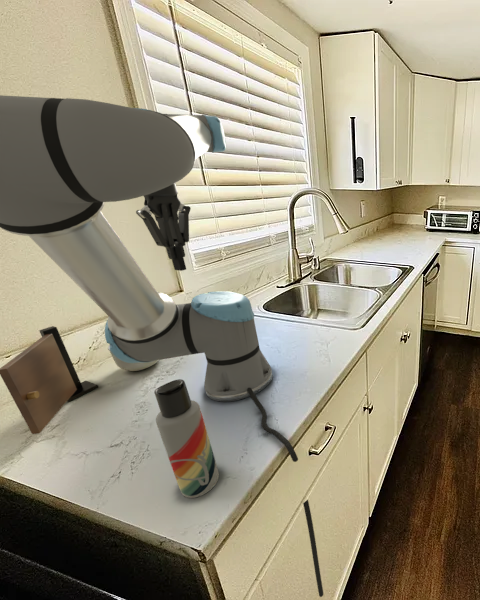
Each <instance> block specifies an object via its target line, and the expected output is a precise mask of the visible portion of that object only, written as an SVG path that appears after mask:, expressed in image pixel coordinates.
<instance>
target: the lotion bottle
mask: <svg viewBox="0 0 480 600" xmlns="http://www.w3.org/2000/svg"><path fill="white" fill-rule="evenodd" d="M154 396H155V399H156V403H157V405H158V408H159V413H158V414H157V415H156V417H155V423H156V426H157V431H158V432H159V435H160V438H161V441H162V444H163V446H164V449H165V452H166V455H167V458H168V460H169V461H168V462H169V463H170V466H171V469H172V471H173V475H174V477H175V480H176V483H177V486H178V488H179V490H180V493H181V495H182V496H183V497H185V498H188V499H192V498H193V499H194V498H198V497H201V496H203V495H205V494H207V493H208V492H209V491H211V490H212V489H213V488H214V487H215V486H216V484H217V483H218V481H219V478H220V476H219V475H220V474H219V469H218V465H217V462H216V458H215V454H214V452H213V448H212V445H211V440H210V438H209V434H208V430H207V426H206V424H205V420H204V417H203V413H202V410H201V406H200V404H199V403H198V402H197V401H195V400H191V397H190V393H189V391H188V388H187V385H186V382H185V380H184V379H174V380H172V381H169V382H167V383H164V384H162V385H160V386H159V387H157V388H156V389H155V390H154Z"/></svg>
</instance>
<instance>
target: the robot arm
mask: <svg viewBox="0 0 480 600" xmlns="http://www.w3.org/2000/svg"><path fill="white" fill-rule="evenodd" d="M226 150H227V142H226V136H225V130H224V127H223V123H222V120H221V119H220V118H219V117H218V116H216V115H206V114H182V113H181V114H178V113H162V112H159V111H155V110H151V109H148V108H140V107H131V106H125V105H120V104H115V103H110V102H104V101H97V100H92V99H85V98H68V97H66V98H59V97H42V96H41V97H39V96H38V97H37V96H21V95H20V96H19V95H1V94H0V229H2V230H3V231H5V232H8V233H10V234H13V235H19V236H27V237H29V238H30V239H31V240H32V241H33V242H34V243H35V244H36V245H37V246H38V247H39V248H40V249H41V250H42V251H43V252H44V253H45V254H46V255H47V256H48V257H49V258H50V259H51V260H52V261H53V262H54V263H55V264H56V265H57V266H58V267H59V268H60V269H61V270H62V271H63V272H64V273H65V275H67V276H68V277H69V279H71V280H72V281H73V282H74V283H75V284H76V285H77V286H78V287H79V288H80V290H82V291H83V292H84V293H85V294H86V295H87V296H88V297H89V299H91V301H93V303H95V305H97V306H98V307H99V308H100V309H101V310H102V311H103V312H104V313H105V314H106V315H107V316H108V317H107V319H106V322H105V325H104V338H105V341H106V344H108V345H110V348H109V349H110V350H111V352H112V353H113V354H114V355H115V356H116V357H117V358H118V359H120V360H121V361H124V362H127V363H145V362H146V363H147V362H151V361H156V360H158V361H162V360H166V359H172V358H173V359H174V358H178V357H179V358H180V357H185V356H191V355H198V354H204V355H205V359H206V369H205V378H204V382H203V383H204V390H205V395H206V396H207V397H208V398H209V399H210V400H213V401H217V402H235V401H239V400H244V399H247V398H251V400H252V401H253V403H254V404H255V406H256V408H257V409H258V411H259V412H260V414H261V422H260V424H261V428H262V430H263V431H264V432H266V433H268V434H270V435H271V436H274V437H275V438H276V439H277V440H278V441H279V442H281V444H283V446H284V447H285V448H286V450H287V452H288V453H289V454H288V455H289V456H290V458H291V461H292V462H294V463H296V462H298V460H299V458H298V454H297V453H296V450H295V449H294V447H293V445H292V444H291V442H290V441H289V440H288V439H287V438H286V437H285V436H284V435H283V434H282V433H280V432H279V431H277V430H276V429H274V428H271V427H269V426H268V424H267V420H268V419H267V418H268V415H267V411H266V409H265V407H264V406H263V404H262V403H261V402H260V400H259V398H258V397H257V396H256V395H257V394H258V393H259V392H261V391H262V390H265V388H266V387H268V385H269V384H270V383H271V381H272V379H273V370H272V367H271V365H270V363H269V361H268V360H267V358H266V356H265V355H264V354H263V352H262V350H261V348H260V343H259V338H258V333H257V328H256V323H255V312H254V311H253V308H252V304H251V300H250V299H249V298H248V297H247V296H246V295H244V294H242V293H239V292H235V291H227V290H219V291H218V290H217V291H208V292H207V293H205V292H203V293H200V294H197V295H195V296H194V297H192V299H191V302H188V303H178V304H176V302H175V301H174V299H173V298H172V297H171V296H170V295H168V294H165V293H163V292H159V291H157V289H156V288H155V286H154V285H153V284H152V283H151V281H150V279H149V278H148V277H147V275H146V274H145V272H144V271H143V269H142V268H141V267H140V265H139V263H137V261H136V259H135V258H134V256H133V255H132V253H131V252H130V251H129V249H128V248H127V246H126V245H125V243H124V242H123V241H122V239H121V238H120V236H119V235H118V233H117V232H116V231H115V229H114V228H113V226H112V225H111V224H110V222H109V220H107V218H106V217H105V214H103V212H102V210H103V208H104V206H105V204H106V203H115V202H122V201H128V200H133V199H138V198H142V197H143V198H144V202H143V207H142V208H141V209H137V210H136V211H135V214H136V215H137V216H138V217H139V218H141V219H142V221H143V223H144V225H145V227H146V228H147V230H148V232H149V234H150V235H151V237H152V238H153V241H154V243H155V245H156V246H157V247H163V248H165V250H166V253H167V257H168V259H169V260H171V261H172V266H173V269H174V271H179V272H184V271H186V270H187V266H186V262H185V257H186V253H185V252H186V251H185V249H184V247H185V246H186V243H188V242H190V223H189V222H190V218H189V215H190V212H191V206H189V205H185V204H183V203H181V200H180V199H179V197H178V194H179V192H178V188H177V184H176V183H178V182H180V181H182V180H183V179H185V177H187V176H188V175H189V174H190V173H191V171H192V170H193V168H194V166H195V162H196V159H198V158H199V157H200V156H202V155H203V154H204V153H212V154H214V153H222V152H225V151H226ZM152 214H153V215H154V217H153V216H152ZM302 504H303V505H302V506H303V509H304V514H305V519H306V524H307V530H308V536H309V543H310V549H311V554H312V561H313V567H314V573H315V579H316V587H317V591H318V597H320V598H322V597H323V596H324V588H323V582H322V576H321V569H320V563H319V562H320V561H319V555H318V548H317V542H316V541H317V540H316V535H315V529H314V523H313V519H312V513H311V508H310V507H311V506H310V502H309V499H306V500H305V501H304V502H303V503H302Z"/></svg>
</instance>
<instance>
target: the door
mask: <svg viewBox="0 0 480 600" xmlns="http://www.w3.org/2000/svg"><path fill="white" fill-rule="evenodd" d="M0 377H1V379H2V380H3V383H4V385H5V387H6V388H7V390H8V392H9V394H10V396H11V398H12V399H13V402H14V403H15V405H16V407H17V408H18V409H17V410H18V411H19V413H20V414H21V417H22V418H23V420H24V422H25V423H26V426H27V427H28V429H29V431H30V433H31V435H37V434H40V433H42V431H43V430H44V429H45V428H46V427H47V425H48V424H49V423H50V422H51V421H52V420H53V418H55V416H56V415H57V414H58V412H59V411H60V410H61V409H62V408H63V407H64V406H65V404H66V403H68V402H67V401H68V399H69V398H70V397H71V396H72V395H73V394H74V392H75V391H76V390H77V388H76V386H75V384H74V382H73V379H72V377H71V375H70V373H69V370H68V368H67V366H66V364H65V361H64V359H63V357H62V355H61V353H60V350H59V348H58V346H57V344H56V341H55V339H54V337H53V335H52V334H46V335H44V336H43V337H42V336H41V337H40V338H39V339H37V340H36V341H35V342H33V343H32V344H31V345H29V346H28V347H27V348H25V349H24V350H22V351H21V352H20V353H19V354H17V355H15V357H13V358H11V360H9V361H8V362H6V363H5V364H3V365H2V366H1V367H0Z"/></svg>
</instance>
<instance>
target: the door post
mask: <svg viewBox="0 0 480 600" xmlns="http://www.w3.org/2000/svg"><path fill="white" fill-rule="evenodd" d="M38 331H39V333H40V336H41V337H43V336H44V335H46V334H52V335H53V337H54V339H55V341H56V344H57V346H58V348H59V350H60V353H61V355H62V357H63V359H64V361H65V364H66V366H67V368H68V370H69V373H70V375H71V377H72V379H73V382H74V384H75V386H76V388H77V390H76V391H75V392H74V394H73V395H72V396H71V397H70V398H69V399H68V401H67V402H66V403H70V402H71V401H74V400H75V399H78V398H79V397H81V396H84V395H86V394H87V393H90V392H93V391H94V390H97V389H98V388H99V385H98V384H97V383H93V382H91V381H88V380H83V381H82V382H81V380H80V378H79V376H78V375H79V374H78V373H77V371H76V369H75V366H74V363H73V362H72V359H71V356H70V355H69V353H68V350H67V347H66V346H65V343H64V341H63V339H62V337H61V334H60V332H59V330H58V327H57V326H53V325H52V326H49V327H45V328H42V329H39V330H38Z"/></svg>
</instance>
